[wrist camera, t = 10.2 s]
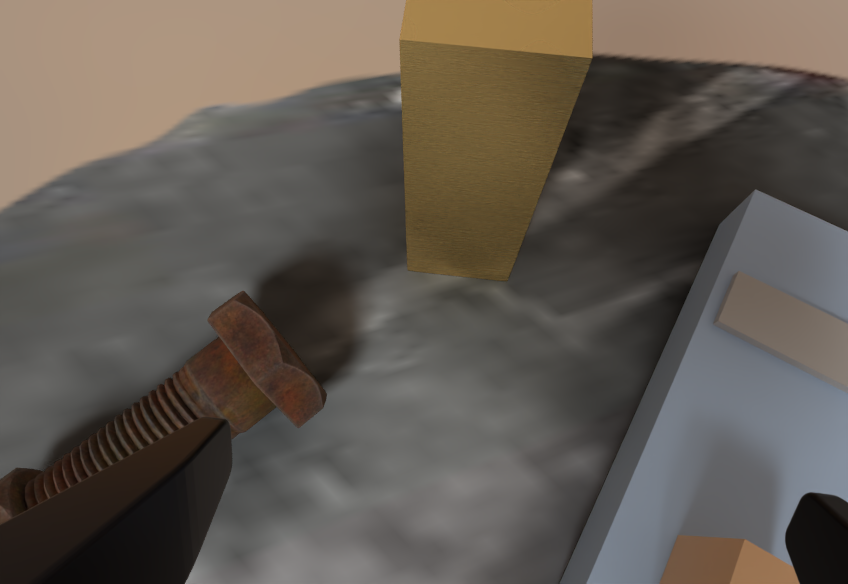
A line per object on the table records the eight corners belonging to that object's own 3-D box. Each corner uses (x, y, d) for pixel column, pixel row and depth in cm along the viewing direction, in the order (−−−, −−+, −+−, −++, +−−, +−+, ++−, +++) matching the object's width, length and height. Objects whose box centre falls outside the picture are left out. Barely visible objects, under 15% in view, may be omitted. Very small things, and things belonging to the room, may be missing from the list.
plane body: (739, 717, 19) (908, 821, 12) (553, 597, 20) (618, 634, 14) (869, 295, 25) (1029, 216, 18) (719, 224, 26) (819, 127, 20)
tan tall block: (507, 281, 25) (592, 58, 13) (407, 270, 25) (399, 39, 13) (511, 213, 26) (592, -46, 14) (416, 203, 26) (417, -62, 14)
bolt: (-16, 596, 22) (297, 353, 25) (-17, 725, 18) (348, 420, 21) (-174, 543, 18) (222, 263, 21) (-215, 694, 14) (270, 327, 17)
